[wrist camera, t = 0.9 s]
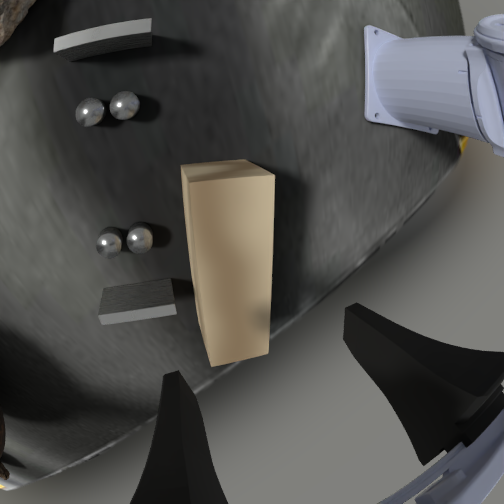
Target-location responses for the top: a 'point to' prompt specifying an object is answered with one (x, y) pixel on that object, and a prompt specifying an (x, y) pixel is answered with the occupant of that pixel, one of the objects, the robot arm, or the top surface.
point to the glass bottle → (2, 432)
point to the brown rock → (4, 472)
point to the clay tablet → (12, 16)
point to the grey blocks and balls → (140, 234)
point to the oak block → (230, 255)
